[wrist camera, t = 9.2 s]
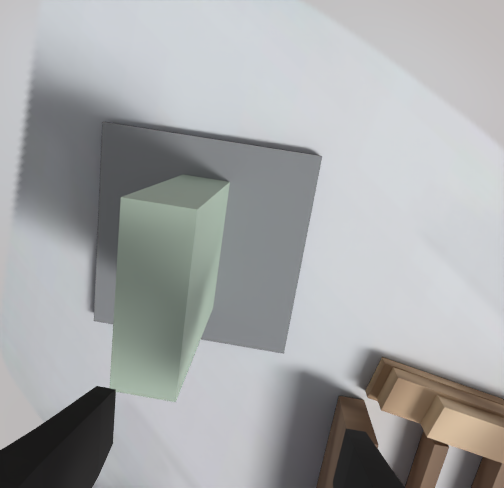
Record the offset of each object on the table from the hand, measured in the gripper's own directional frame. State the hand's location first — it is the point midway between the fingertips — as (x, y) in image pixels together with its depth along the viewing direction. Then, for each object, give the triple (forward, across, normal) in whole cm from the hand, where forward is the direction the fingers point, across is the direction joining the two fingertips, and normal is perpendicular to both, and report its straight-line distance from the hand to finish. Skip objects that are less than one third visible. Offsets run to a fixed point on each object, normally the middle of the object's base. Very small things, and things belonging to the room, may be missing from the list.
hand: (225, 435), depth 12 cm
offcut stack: (+11, -13, +4) cm, 17 cm away
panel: (+10, +3, -3) cm, 11 cm away
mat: (+10, +3, -3) cm, 11 cm away
